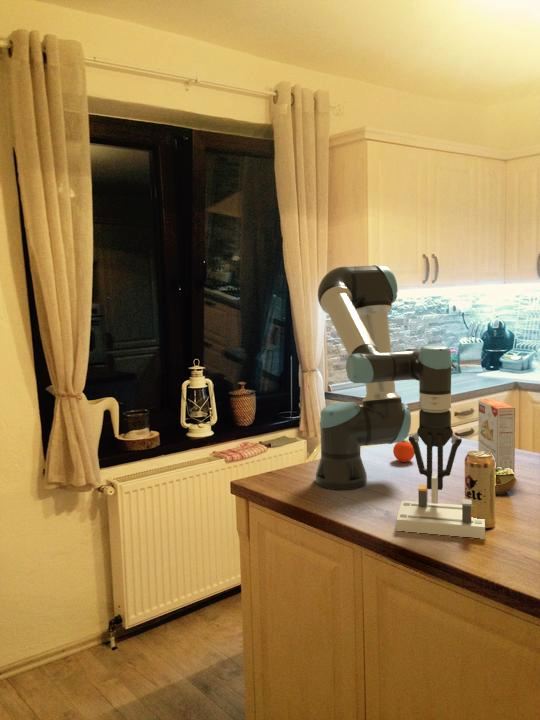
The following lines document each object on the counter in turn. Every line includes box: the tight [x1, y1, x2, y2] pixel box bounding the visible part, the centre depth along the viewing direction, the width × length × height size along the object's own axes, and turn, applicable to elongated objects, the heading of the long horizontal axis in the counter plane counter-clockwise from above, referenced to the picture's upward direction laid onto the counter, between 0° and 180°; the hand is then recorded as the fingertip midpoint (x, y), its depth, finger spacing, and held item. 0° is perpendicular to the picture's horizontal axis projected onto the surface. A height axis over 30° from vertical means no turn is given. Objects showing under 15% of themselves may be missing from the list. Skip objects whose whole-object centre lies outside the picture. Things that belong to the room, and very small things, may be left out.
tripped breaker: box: [417, 484, 429, 507], centre depth 158 cm, size 2×3×4 cm
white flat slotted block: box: [395, 500, 486, 540], centre depth 153 cm, size 20×13×3 cm, turn 72°
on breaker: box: [461, 498, 473, 522], centre depth 147 cm, size 2×3×4 cm
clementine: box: [392, 439, 415, 463], centre depth 206 cm, size 8×7×7 cm
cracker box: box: [477, 398, 516, 473], centre depth 193 cm, size 14×6×21 cm, turn 4°
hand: (434, 501), depth 157 cm, fingers closed
